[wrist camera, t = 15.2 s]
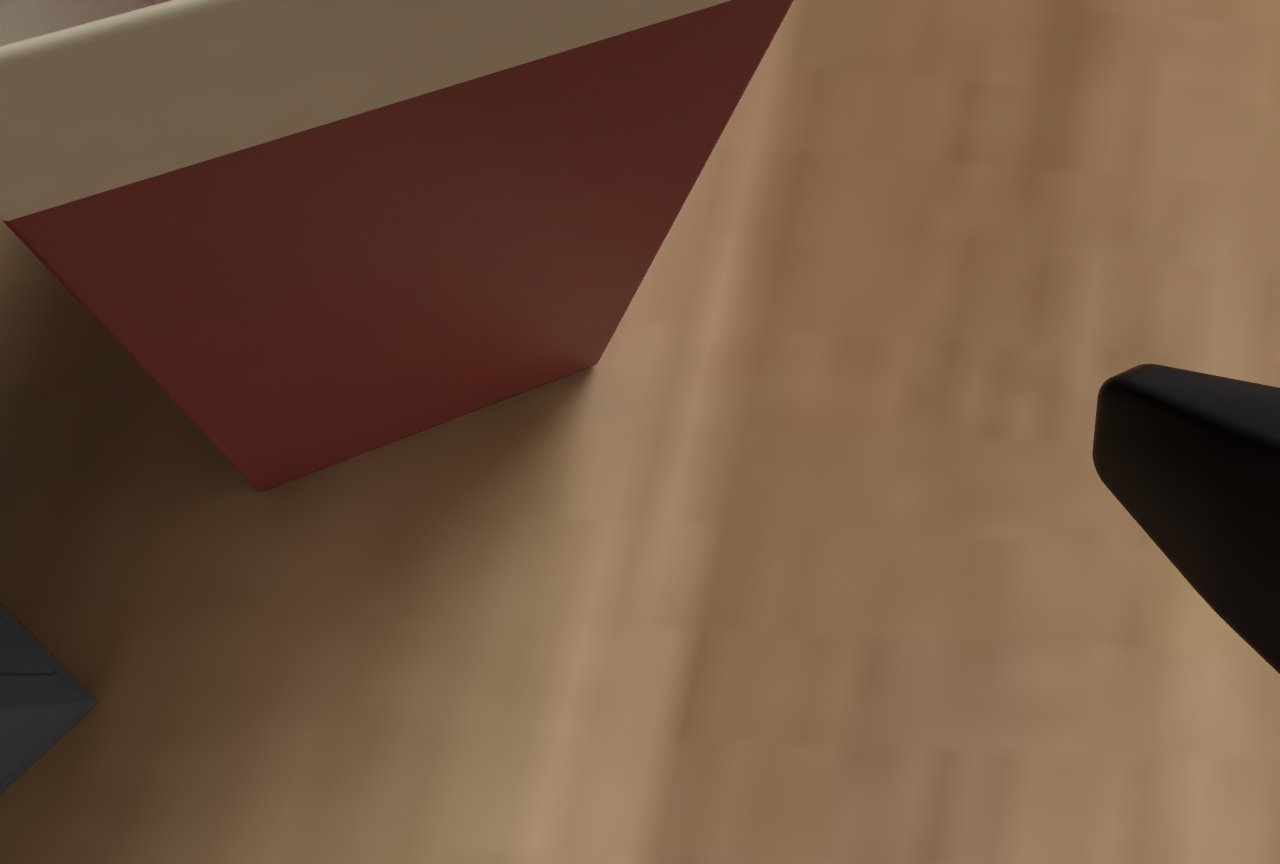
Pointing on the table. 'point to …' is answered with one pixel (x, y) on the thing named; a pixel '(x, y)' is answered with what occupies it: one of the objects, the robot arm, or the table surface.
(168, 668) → the table surface
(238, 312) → the tea packet
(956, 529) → the table surface
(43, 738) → the box
